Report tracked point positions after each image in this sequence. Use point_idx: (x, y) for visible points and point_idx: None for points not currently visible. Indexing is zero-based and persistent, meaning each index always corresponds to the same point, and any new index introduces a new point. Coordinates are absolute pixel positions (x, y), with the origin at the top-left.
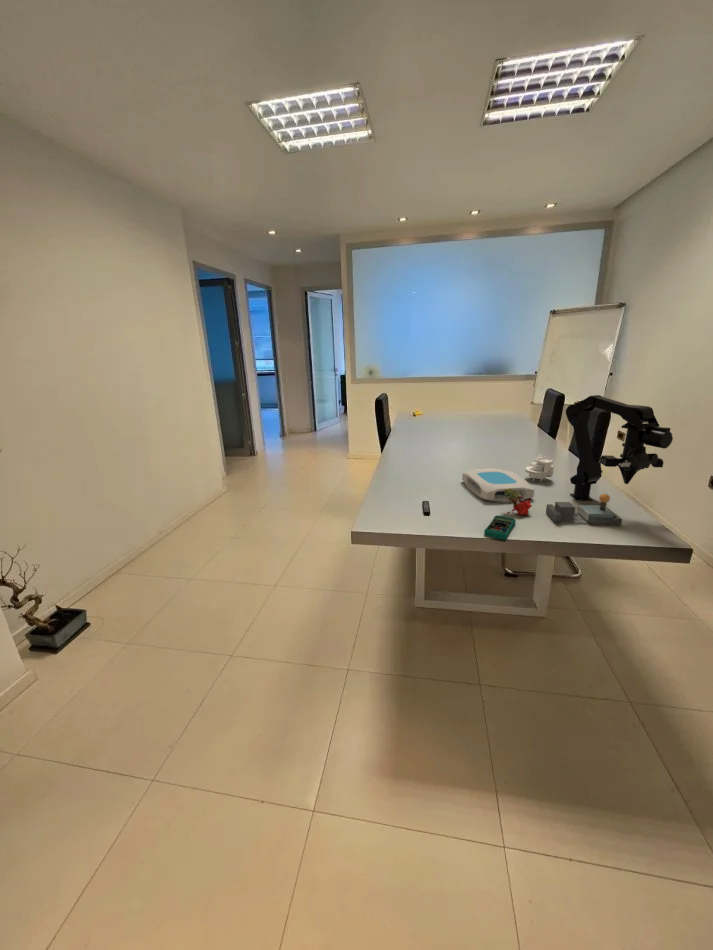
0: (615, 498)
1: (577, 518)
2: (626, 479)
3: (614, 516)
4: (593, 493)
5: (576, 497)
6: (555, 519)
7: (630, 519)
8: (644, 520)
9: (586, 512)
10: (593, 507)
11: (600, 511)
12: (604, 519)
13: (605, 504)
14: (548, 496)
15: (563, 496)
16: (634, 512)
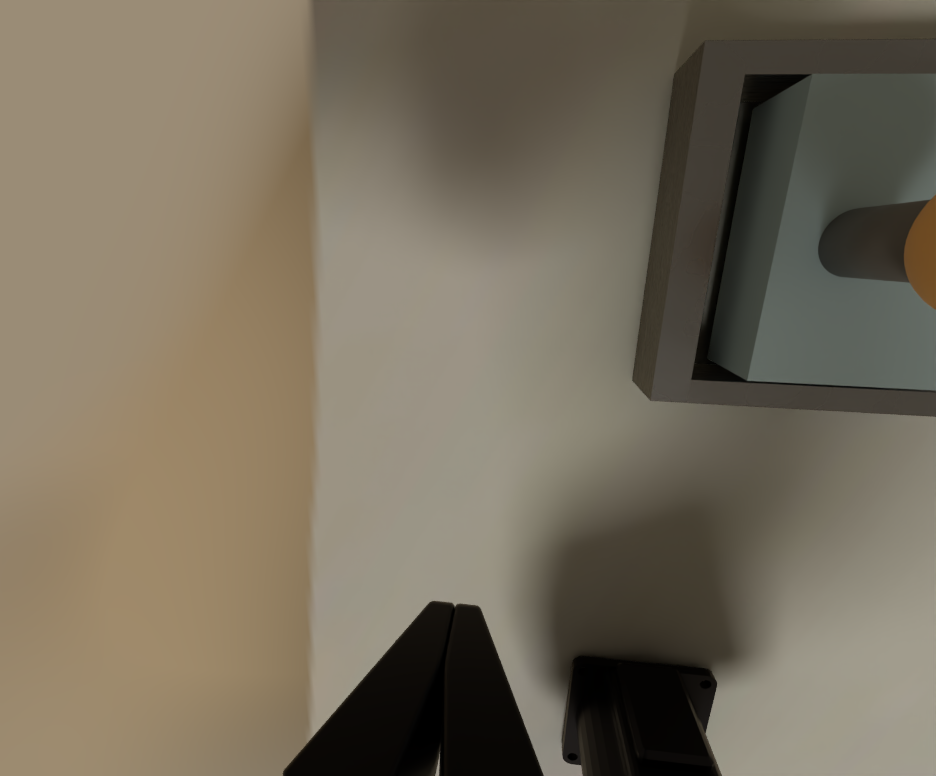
0: None
1: None
2: (492, 690)
3: (727, 153)
4: None
5: (694, 704)
6: None
7: (483, 252)
8: (369, 231)
9: None
10: (916, 319)
11: (930, 174)
12: (922, 43)
13: (928, 200)
14: (899, 752)
15: (764, 742)
16: (365, 412)
